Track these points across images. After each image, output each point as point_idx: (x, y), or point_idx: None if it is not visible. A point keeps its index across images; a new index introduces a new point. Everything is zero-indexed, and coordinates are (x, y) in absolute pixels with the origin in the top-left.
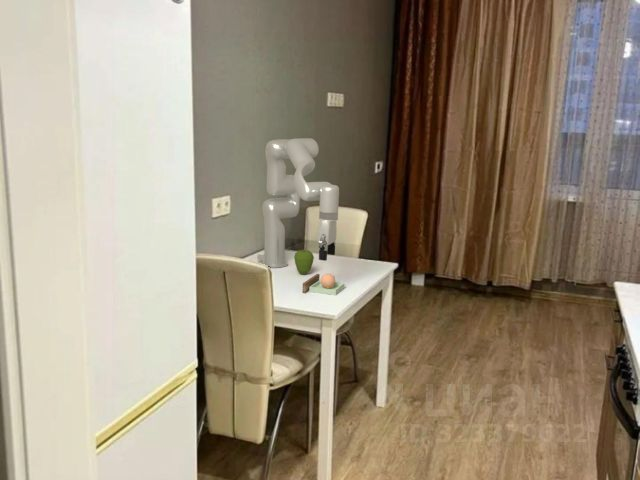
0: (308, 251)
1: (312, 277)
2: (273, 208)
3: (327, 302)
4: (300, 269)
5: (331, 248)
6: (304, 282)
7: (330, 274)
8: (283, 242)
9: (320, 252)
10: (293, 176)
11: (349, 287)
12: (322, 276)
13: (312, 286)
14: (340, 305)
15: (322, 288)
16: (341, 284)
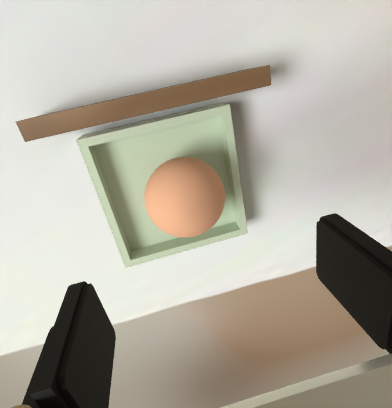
0: None
1: (179, 91)
2: None
3: (19, 285)
4: None
5: (360, 299)
6: (42, 119)
7: (198, 224)
8: None
9: (26, 393)
10: None
11: (259, 231)
12: (167, 184)
13: (106, 141)
14: (31, 333)
15: (105, 209)
16: (221, 235)
